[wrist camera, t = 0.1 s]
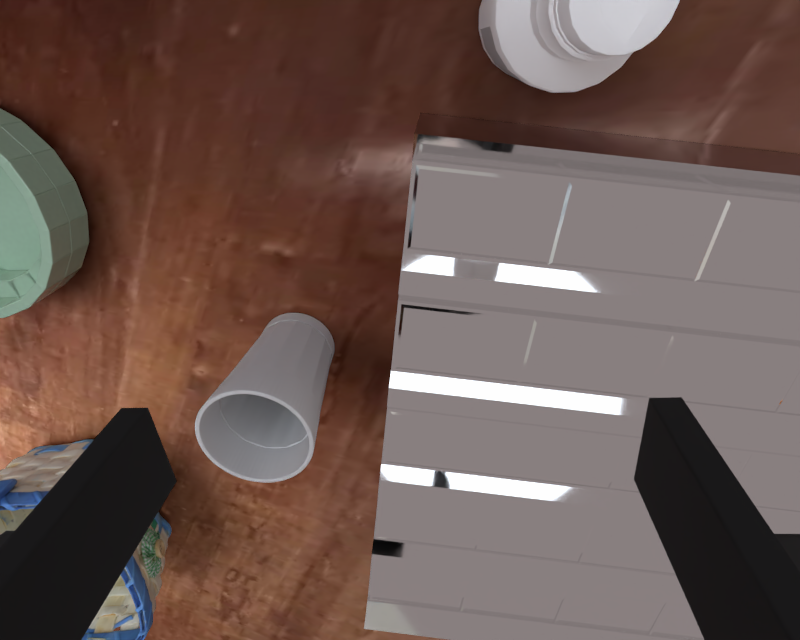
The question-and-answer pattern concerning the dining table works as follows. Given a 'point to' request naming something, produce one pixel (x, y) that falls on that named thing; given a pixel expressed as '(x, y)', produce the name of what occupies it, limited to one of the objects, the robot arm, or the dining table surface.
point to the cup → (270, 402)
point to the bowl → (36, 219)
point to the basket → (140, 580)
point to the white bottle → (568, 38)
